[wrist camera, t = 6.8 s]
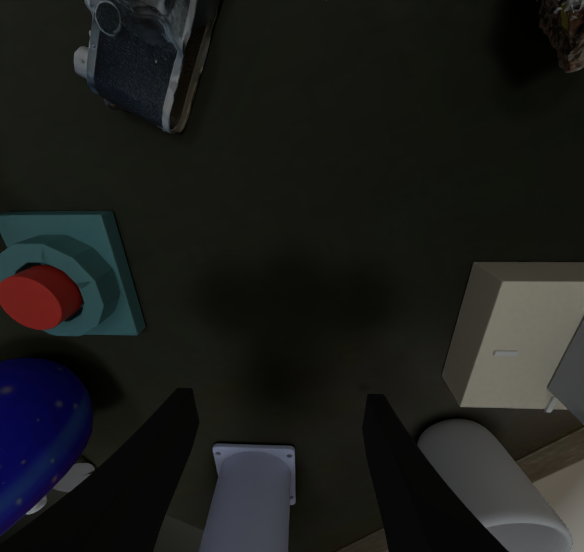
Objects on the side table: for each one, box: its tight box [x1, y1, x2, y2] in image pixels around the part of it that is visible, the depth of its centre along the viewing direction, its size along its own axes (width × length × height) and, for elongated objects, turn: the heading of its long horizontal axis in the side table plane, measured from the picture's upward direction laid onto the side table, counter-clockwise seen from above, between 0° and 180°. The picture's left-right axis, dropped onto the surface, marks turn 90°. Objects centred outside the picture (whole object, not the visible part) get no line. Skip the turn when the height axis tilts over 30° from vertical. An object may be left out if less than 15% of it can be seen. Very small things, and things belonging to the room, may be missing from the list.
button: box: [0, 265, 83, 330], centre depth 17 cm, size 4×4×2 cm
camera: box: [74, 0, 221, 134], centre depth 12 cm, size 5×10×4 cm, turn 153°
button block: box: [0, 211, 145, 336], centre depth 18 cm, size 9×7×3 cm
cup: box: [417, 419, 573, 552], centre depth 22 cm, size 11×8×8 cm
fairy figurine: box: [26, 463, 95, 514], centre depth 28 cm, size 6×7×7 cm
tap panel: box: [442, 262, 584, 412], centre depth 19 cm, size 10×12×3 cm
